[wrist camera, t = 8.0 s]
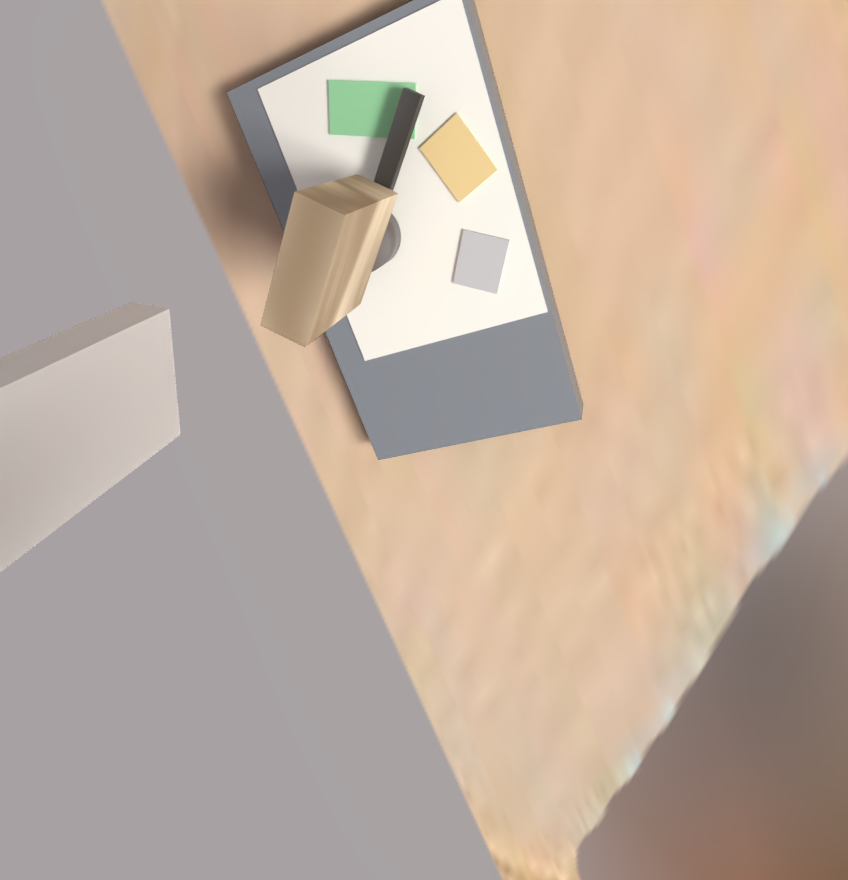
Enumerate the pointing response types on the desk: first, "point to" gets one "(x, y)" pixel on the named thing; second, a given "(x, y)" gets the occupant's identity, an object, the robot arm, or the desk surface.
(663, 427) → the desk surface
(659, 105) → the desk surface
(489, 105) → the board
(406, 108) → the wooden block with bar
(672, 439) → the desk surface
